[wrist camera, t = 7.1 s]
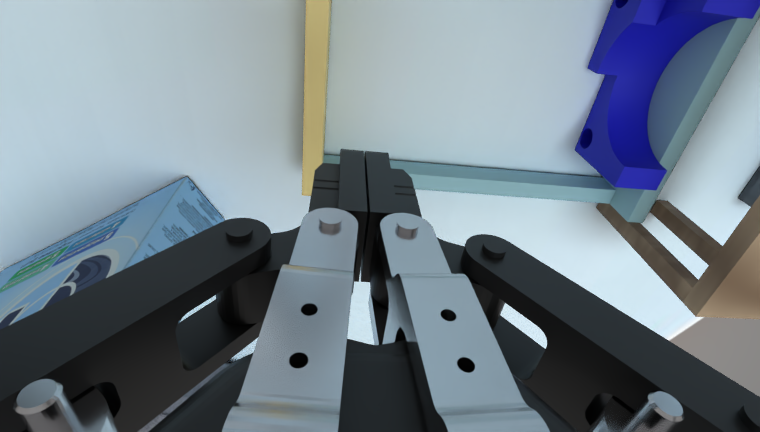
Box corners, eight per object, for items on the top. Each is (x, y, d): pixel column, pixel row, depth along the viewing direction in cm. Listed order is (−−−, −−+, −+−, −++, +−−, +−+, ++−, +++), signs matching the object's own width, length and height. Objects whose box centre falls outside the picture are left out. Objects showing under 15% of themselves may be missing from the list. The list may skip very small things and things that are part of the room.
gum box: (187, 173, 31) (-63, 539, 12) (230, 222, 34) (78, 586, 15) (0, 268, 35) (-413, 660, 16) (52, 306, 38) (-250, 680, 19)
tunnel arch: (733, -79, 24) (1007, -91, 14) (822, -64, 25) (1142, -65, 15) (596, 207, 35) (695, 316, 25) (660, 212, 36) (782, 320, 26)
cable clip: (624, -33, 26) (690, -26, 21) (690, -23, 26) (770, -13, 21) (555, 147, 32) (593, 185, 27) (609, 152, 33) (656, 190, 28)
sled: (314, -106, 22) (307, -115, 18) (724, -42, 25) (790, -39, 21) (307, 168, 31) (301, 199, 27) (610, 191, 34) (642, 222, 30)
